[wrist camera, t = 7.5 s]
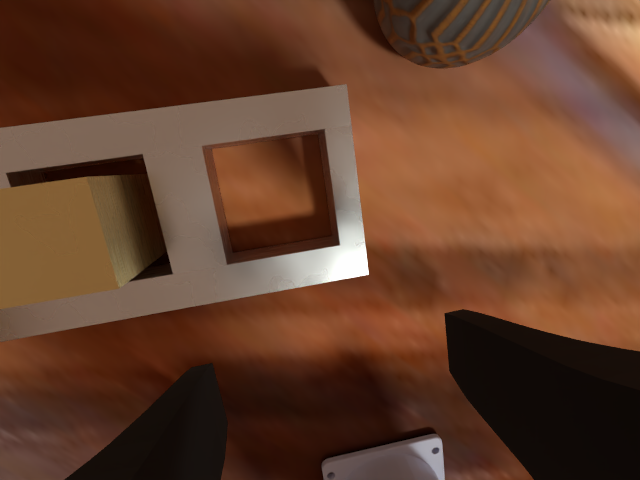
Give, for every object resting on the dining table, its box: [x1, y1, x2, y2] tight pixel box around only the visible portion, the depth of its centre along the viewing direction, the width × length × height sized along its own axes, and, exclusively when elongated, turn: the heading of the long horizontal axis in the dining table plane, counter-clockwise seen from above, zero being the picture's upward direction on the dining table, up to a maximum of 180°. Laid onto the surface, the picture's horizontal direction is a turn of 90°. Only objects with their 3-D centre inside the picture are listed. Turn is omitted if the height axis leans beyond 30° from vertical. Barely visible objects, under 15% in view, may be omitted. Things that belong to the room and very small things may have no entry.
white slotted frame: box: [0, 84, 369, 342], centre depth 16 cm, size 9×24×2 cm, turn 98°
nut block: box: [0, 174, 167, 309], centre depth 15 cm, size 4×4×6 cm
